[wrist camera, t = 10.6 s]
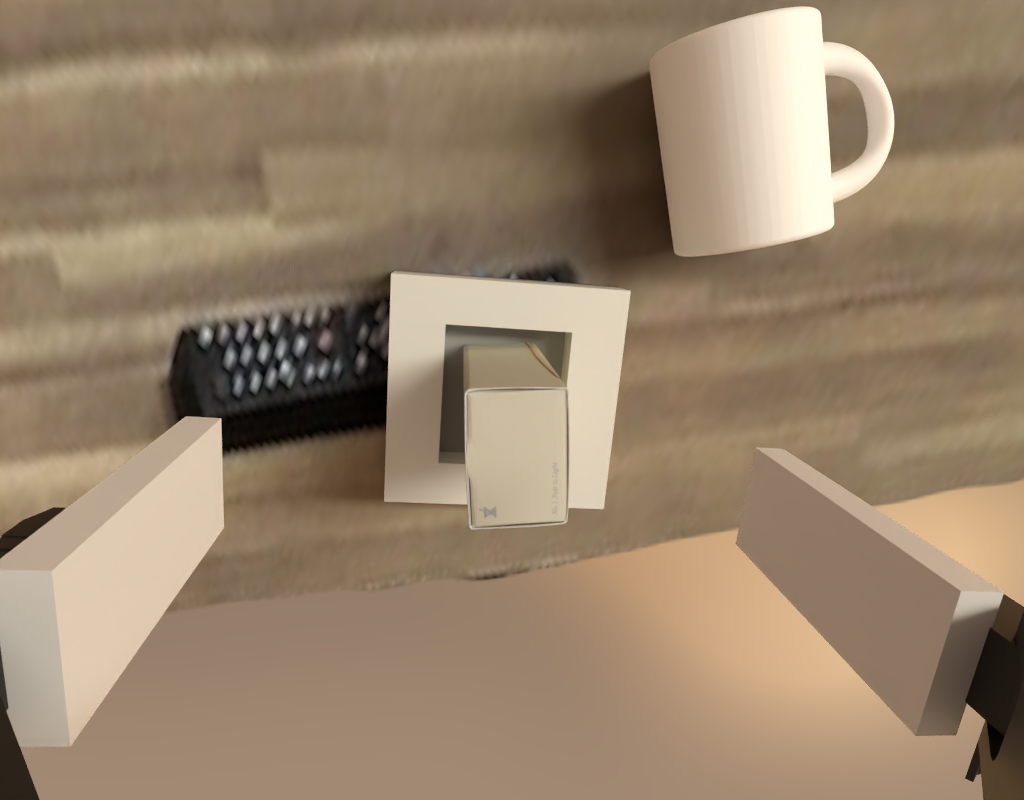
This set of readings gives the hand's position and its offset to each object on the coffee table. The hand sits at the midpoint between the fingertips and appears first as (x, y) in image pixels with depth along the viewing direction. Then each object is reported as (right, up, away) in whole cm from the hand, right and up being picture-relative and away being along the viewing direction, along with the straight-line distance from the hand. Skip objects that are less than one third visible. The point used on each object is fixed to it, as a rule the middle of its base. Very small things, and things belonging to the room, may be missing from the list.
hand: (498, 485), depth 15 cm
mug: (+14, +17, +21) cm, 30 cm away
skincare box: (-1, +3, +22) cm, 22 cm away
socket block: (0, +3, +23) cm, 23 cm away
